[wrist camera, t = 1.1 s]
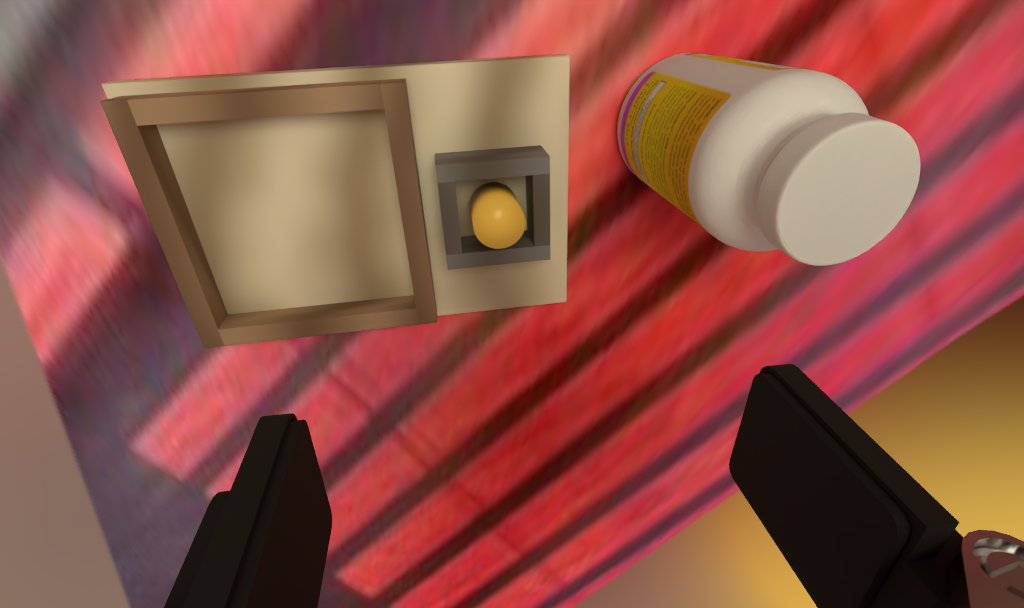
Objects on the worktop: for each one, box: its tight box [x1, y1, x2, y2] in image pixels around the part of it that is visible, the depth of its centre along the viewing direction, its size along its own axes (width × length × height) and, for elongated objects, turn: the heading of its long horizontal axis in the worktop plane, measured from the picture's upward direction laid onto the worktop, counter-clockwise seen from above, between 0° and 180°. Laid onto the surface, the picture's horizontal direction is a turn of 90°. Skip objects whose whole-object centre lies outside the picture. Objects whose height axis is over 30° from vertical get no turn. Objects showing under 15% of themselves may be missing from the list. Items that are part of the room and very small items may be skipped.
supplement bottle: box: [617, 53, 920, 266], centre depth 21 cm, size 7×7×13 cm
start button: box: [469, 182, 526, 249], centre depth 24 cm, size 2×2×3 cm
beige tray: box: [100, 54, 570, 348], centre depth 25 cm, size 20×13×3 cm, turn 92°
